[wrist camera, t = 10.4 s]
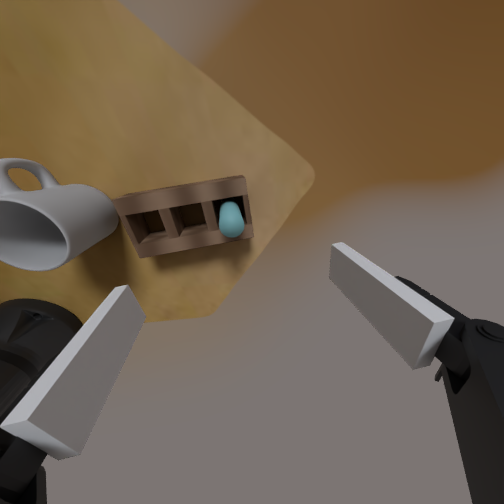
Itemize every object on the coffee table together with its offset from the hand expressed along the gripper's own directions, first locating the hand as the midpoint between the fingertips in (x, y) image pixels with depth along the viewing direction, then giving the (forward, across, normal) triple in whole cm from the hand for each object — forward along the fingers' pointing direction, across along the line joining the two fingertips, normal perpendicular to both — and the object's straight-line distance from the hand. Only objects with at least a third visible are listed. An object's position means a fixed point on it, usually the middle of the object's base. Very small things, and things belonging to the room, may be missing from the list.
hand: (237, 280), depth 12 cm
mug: (+22, -22, +4) cm, 32 cm away
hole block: (+22, -6, 0) cm, 23 cm away
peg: (+22, 0, 0) cm, 22 cm away
